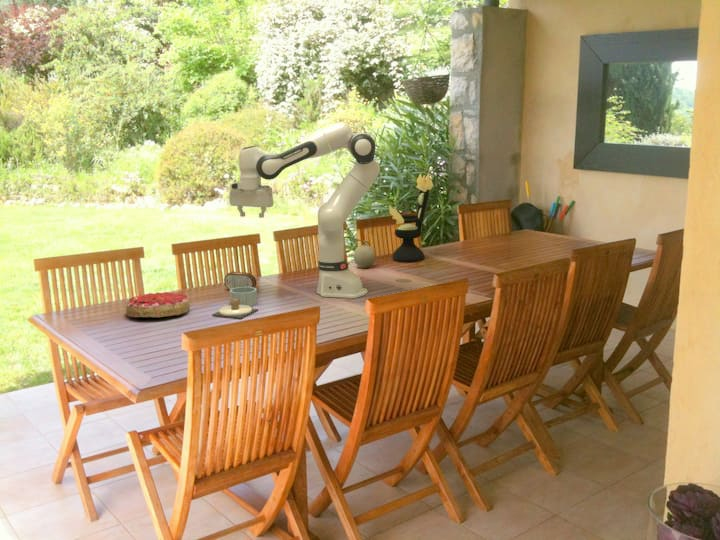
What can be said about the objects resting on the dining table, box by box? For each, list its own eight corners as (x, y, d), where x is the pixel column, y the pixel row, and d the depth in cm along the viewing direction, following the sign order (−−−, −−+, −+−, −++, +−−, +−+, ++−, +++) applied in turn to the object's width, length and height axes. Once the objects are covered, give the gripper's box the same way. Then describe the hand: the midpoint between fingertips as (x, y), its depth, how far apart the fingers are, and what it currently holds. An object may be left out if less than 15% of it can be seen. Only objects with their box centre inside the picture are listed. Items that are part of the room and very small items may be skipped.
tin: (257, 291, 346) (256, 272, 344) (253, 292, 343) (253, 274, 341) (227, 289, 351) (226, 270, 349) (223, 290, 348) (222, 272, 346)
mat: (258, 311, 313) (258, 309, 313) (240, 319, 301) (240, 317, 301) (230, 308, 318) (230, 306, 318) (212, 316, 307) (212, 314, 306)
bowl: (262, 301, 327) (261, 288, 325) (248, 308, 317) (247, 294, 316) (239, 299, 331) (239, 285, 330) (225, 305, 321) (224, 291, 320)
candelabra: (388, 256, 415) (387, 172, 405) (429, 254, 418) (429, 170, 408) (393, 263, 397) (393, 175, 387) (436, 261, 399) (436, 174, 389)
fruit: (379, 266, 391) (379, 237, 388) (367, 270, 382) (367, 240, 379) (362, 264, 397) (361, 235, 394) (350, 268, 387) (349, 239, 384)
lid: (258, 309, 313) (257, 296, 312) (240, 317, 301) (239, 304, 300) (230, 306, 318) (230, 293, 317) (212, 314, 306) (211, 301, 305)
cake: (158, 323, 295) (157, 302, 294) (112, 317, 308) (110, 297, 306) (202, 311, 316) (201, 292, 315) (157, 306, 329) (156, 288, 328)
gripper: (275, 184, 328) (276, 217, 331) (234, 183, 336) (236, 214, 339) (267, 186, 323) (269, 219, 326) (226, 184, 331) (228, 217, 334)
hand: (252, 217), depth 333 cm, fingers open, 8 cm apart
